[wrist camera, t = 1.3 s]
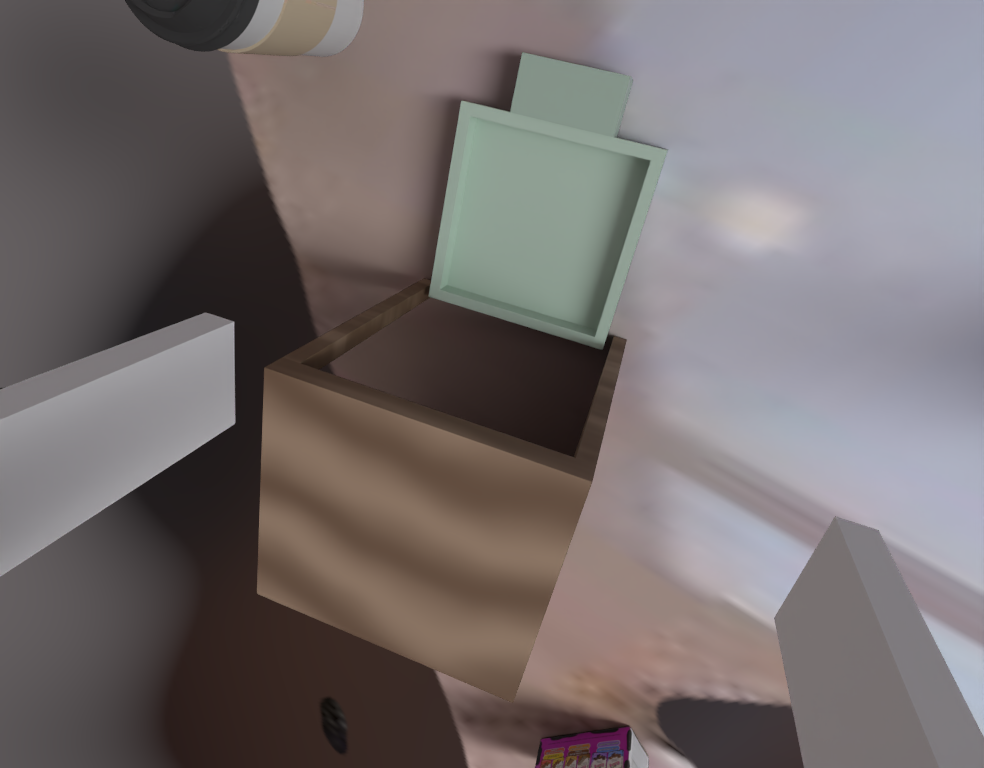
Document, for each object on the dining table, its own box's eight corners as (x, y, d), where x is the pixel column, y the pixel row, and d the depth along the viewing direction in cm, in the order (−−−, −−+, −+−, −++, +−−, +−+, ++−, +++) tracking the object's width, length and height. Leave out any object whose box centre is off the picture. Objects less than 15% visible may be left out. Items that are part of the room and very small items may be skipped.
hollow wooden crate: (423, 278, 46) (264, 367, 28) (626, 339, 44) (592, 481, 26) (397, 440, 54) (257, 593, 36) (570, 502, 51) (512, 703, 33)
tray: (482, 46, 39) (470, 40, 36) (686, 91, 36) (687, 89, 34) (439, 289, 46) (427, 296, 44) (605, 339, 44) (602, 350, 42)
